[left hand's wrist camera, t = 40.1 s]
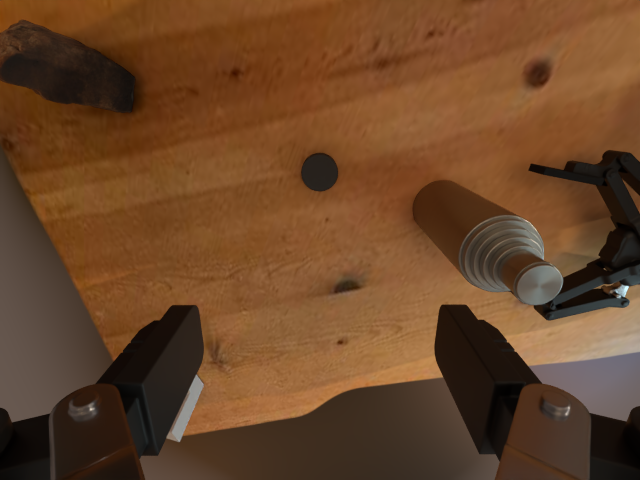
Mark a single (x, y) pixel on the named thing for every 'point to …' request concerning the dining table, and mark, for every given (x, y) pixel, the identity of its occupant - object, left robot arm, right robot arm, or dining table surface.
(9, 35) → the decorative rock
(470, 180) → the dining table surface
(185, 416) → the white wedge bracket
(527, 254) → the bottle
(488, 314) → the dining table surface
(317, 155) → the cap
